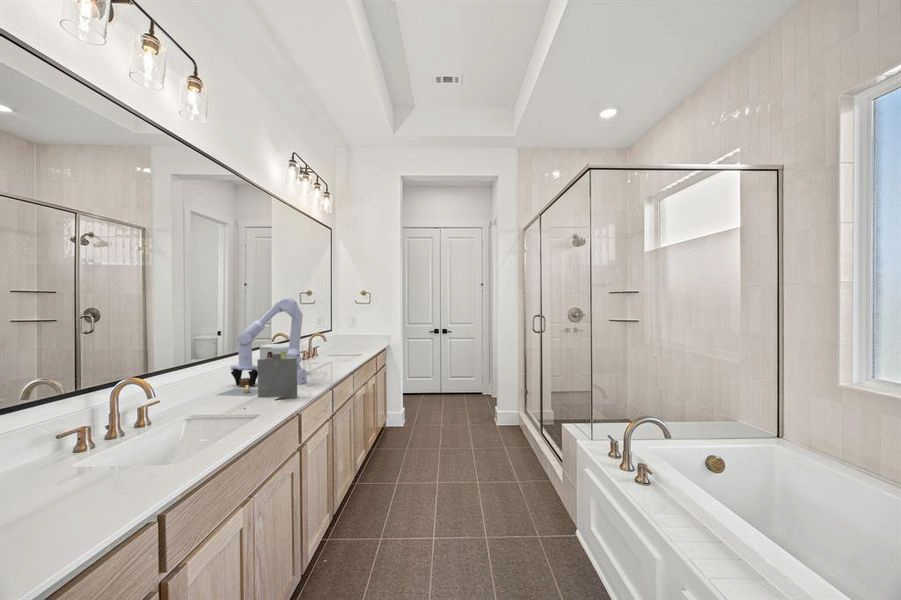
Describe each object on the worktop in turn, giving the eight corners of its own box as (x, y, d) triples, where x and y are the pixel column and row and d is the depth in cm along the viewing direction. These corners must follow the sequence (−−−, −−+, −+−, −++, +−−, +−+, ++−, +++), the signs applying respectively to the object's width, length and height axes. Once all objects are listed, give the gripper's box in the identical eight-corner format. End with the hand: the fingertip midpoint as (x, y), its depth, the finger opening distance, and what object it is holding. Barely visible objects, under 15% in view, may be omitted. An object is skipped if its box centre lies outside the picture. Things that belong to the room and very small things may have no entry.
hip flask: (298, 396, 163) (297, 351, 163) (295, 399, 159) (295, 352, 159) (259, 399, 160) (258, 353, 160) (256, 401, 156) (255, 354, 156)
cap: (254, 388, 181) (254, 377, 181) (247, 390, 176) (246, 380, 176) (244, 387, 182) (244, 377, 182) (237, 390, 176) (237, 380, 176)
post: (251, 392, 166) (251, 384, 166) (247, 393, 164) (247, 385, 164) (246, 392, 167) (246, 384, 167) (242, 393, 164) (242, 385, 164)
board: (269, 392, 171) (269, 389, 171) (251, 399, 159) (251, 396, 159) (234, 391, 174) (234, 388, 174) (214, 398, 162) (214, 395, 162)
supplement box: (259, 379, 201) (258, 346, 201) (268, 374, 214) (268, 343, 214) (291, 378, 203) (291, 345, 203) (299, 373, 216) (299, 343, 216)
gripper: (225, 358, 176) (226, 386, 176) (253, 358, 174) (253, 387, 174) (236, 356, 183) (236, 383, 183) (263, 356, 181) (263, 383, 181)
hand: (245, 385), depth 179 cm, fingers open, 7 cm apart
